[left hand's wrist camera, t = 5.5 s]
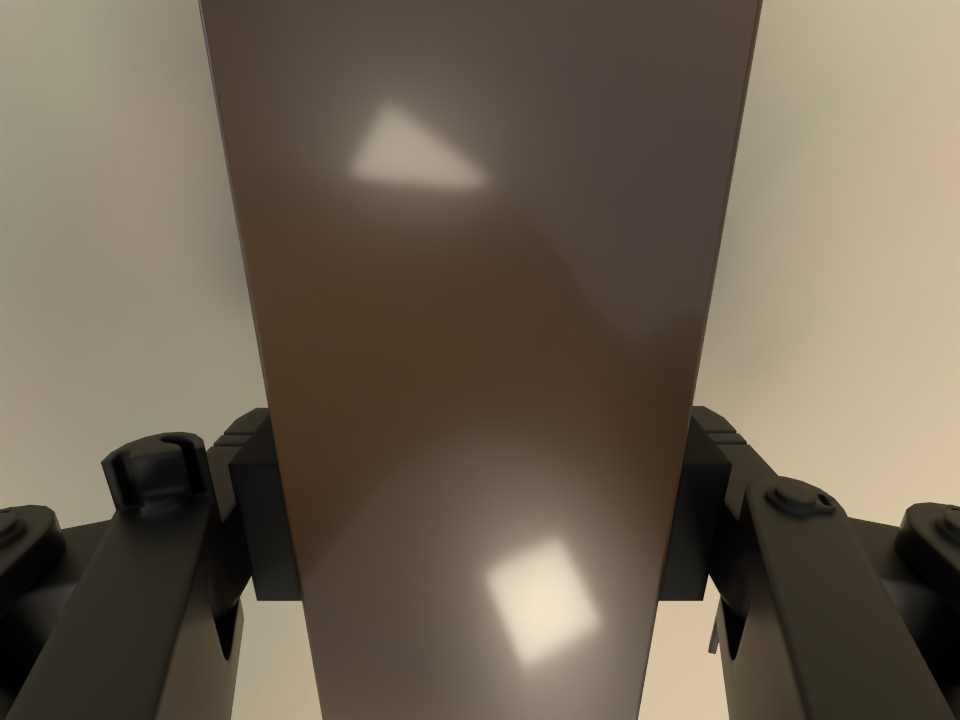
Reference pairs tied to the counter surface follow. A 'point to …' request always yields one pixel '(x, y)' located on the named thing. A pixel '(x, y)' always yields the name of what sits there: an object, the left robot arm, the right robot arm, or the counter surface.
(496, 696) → the beam
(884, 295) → the counter surface
